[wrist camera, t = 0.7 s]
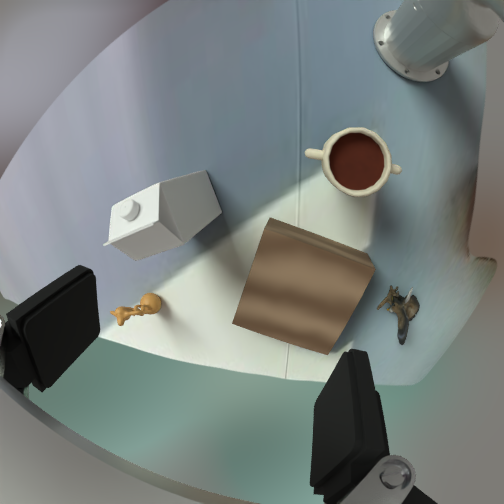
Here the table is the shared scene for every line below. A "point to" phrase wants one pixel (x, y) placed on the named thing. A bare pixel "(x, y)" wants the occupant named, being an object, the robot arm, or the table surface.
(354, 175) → the character mug
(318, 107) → the table surface
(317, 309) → the walnut block
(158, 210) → the milk carton
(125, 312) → the figurine
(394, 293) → the eagle figurine
